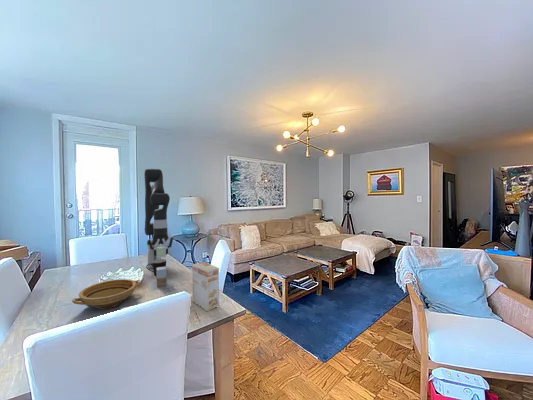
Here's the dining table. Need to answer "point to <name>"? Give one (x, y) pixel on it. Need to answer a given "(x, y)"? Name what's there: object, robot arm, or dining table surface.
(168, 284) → the build plate
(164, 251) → the brick sage
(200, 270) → the coffeecake box
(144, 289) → the dining table surface
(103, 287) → the ceramic bowl
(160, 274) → the brick slate
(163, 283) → the brick base
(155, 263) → the coffee mug
